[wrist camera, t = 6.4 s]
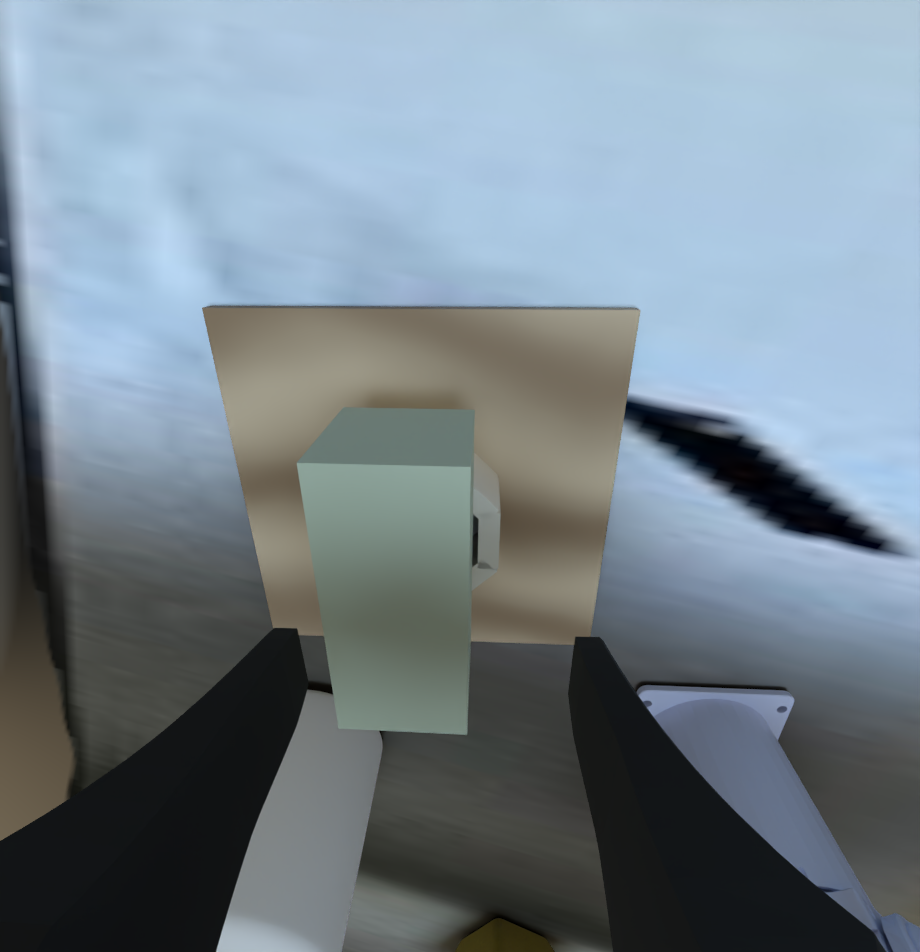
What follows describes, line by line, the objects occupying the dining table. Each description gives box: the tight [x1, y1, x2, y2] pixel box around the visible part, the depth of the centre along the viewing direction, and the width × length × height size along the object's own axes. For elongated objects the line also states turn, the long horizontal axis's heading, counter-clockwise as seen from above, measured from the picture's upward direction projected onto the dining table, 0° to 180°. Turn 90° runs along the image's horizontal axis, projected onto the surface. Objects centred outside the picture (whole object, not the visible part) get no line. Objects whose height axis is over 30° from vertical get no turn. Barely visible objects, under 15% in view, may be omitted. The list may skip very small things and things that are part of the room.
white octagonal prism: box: [472, 453, 501, 590], centre depth 20 cm, size 6×6×3 cm
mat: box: [202, 306, 640, 645], centre depth 22 cm, size 16×16×1 cm
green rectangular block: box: [297, 407, 475, 735], centre depth 16 cm, size 10×4×4 cm, turn 0°
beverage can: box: [216, 690, 383, 952], centre depth 24 cm, size 8×8×12 cm
